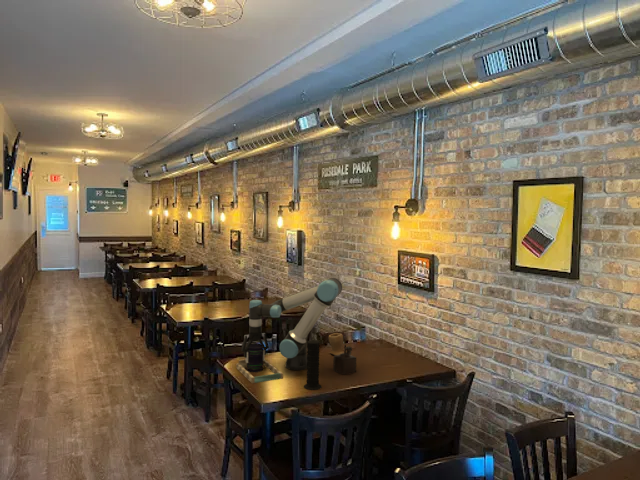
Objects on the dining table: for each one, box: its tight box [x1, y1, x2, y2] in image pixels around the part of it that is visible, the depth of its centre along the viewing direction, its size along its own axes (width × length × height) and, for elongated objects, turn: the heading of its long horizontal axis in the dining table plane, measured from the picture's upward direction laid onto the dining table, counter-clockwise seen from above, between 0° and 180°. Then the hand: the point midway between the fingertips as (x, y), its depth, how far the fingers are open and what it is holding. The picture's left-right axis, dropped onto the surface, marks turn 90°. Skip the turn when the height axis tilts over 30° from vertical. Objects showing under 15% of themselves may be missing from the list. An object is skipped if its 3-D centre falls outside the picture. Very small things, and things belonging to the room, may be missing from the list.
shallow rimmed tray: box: [235, 358, 284, 384], centre depth 285 cm, size 29×19×5 cm, turn 28°
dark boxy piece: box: [332, 344, 357, 376], centre depth 288 cm, size 16×11×18 cm
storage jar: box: [246, 343, 264, 373], centre depth 291 cm, size 10×10×15 cm
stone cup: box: [328, 332, 352, 356], centre depth 323 cm, size 15×12×15 cm
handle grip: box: [303, 339, 322, 391], centre depth 263 cm, size 10×26×10 cm
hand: (255, 361), depth 291 cm, fingers closed on storage jar, 10 cm apart
